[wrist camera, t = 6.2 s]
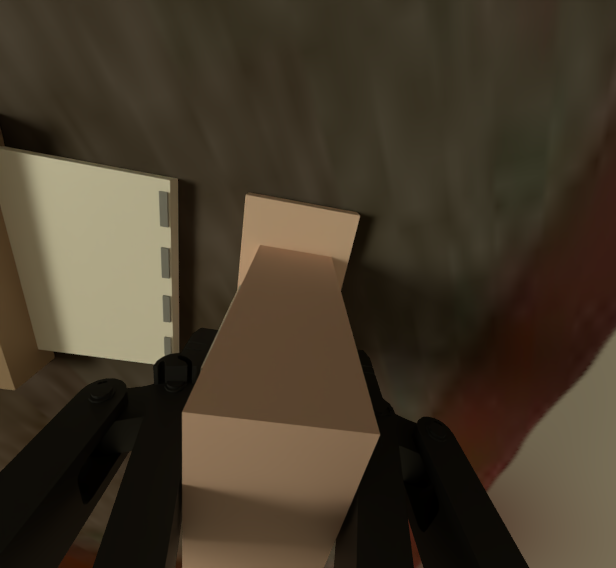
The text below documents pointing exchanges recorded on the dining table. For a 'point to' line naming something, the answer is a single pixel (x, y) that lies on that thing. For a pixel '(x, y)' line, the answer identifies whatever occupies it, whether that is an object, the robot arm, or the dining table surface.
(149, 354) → the base
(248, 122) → the dining table surface
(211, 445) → the stub
